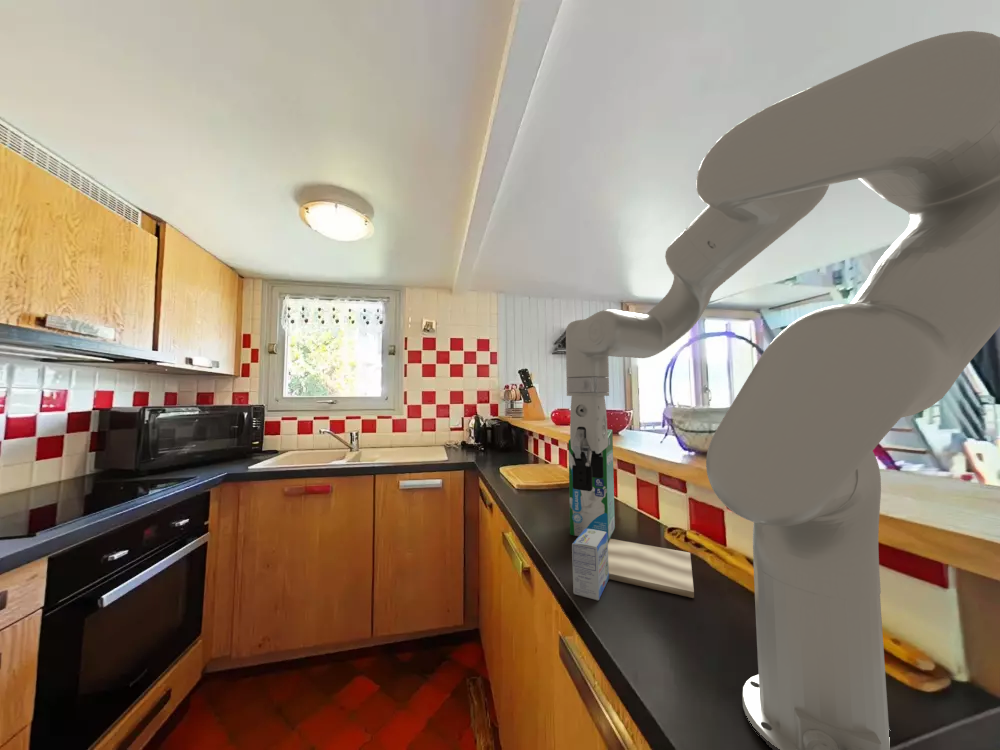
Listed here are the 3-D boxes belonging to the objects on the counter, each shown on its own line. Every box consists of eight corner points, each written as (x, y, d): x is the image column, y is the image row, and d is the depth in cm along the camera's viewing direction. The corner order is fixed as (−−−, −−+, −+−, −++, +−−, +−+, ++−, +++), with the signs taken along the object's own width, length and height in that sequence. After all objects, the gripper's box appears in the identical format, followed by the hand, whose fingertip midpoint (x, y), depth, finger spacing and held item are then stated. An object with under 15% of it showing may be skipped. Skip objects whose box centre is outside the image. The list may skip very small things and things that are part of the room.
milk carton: (569, 534, 84) (568, 430, 85) (579, 522, 92) (577, 427, 93) (608, 542, 80) (605, 432, 81) (614, 528, 88) (612, 429, 89)
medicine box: (599, 602, 57) (597, 547, 57) (572, 594, 59) (571, 542, 59) (609, 579, 63) (608, 531, 64) (585, 573, 66) (584, 527, 66)
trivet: (694, 598, 58) (693, 591, 58) (596, 575, 65) (596, 570, 65) (690, 557, 72) (690, 552, 72) (610, 543, 79) (610, 538, 79)
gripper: (599, 387, 54) (601, 499, 53) (616, 388, 69) (618, 475, 68) (552, 387, 57) (554, 492, 56) (578, 388, 73) (580, 471, 72)
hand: (589, 483), depth 62 cm, fingers open, 9 cm apart
